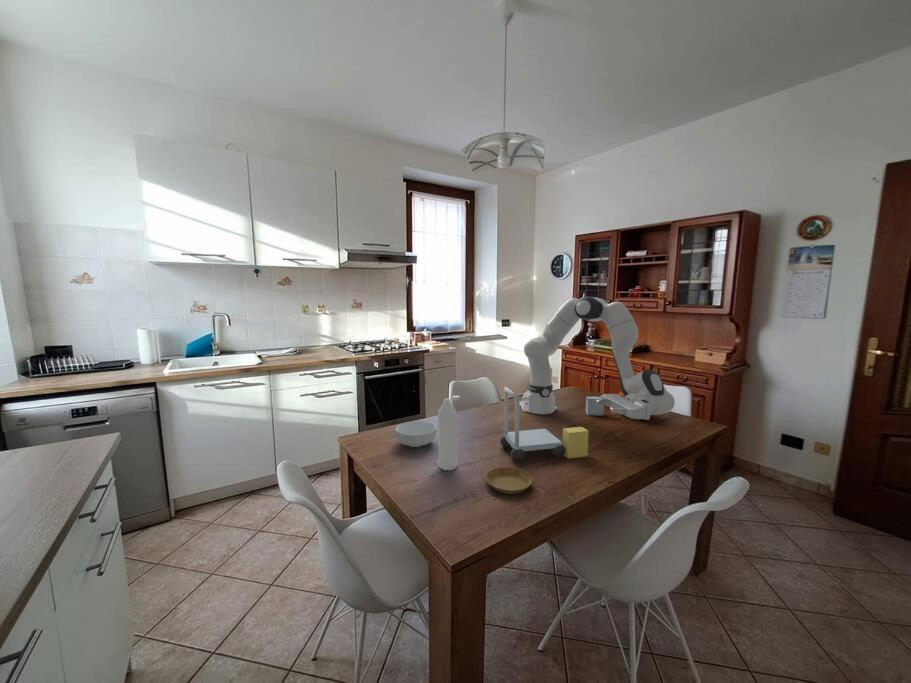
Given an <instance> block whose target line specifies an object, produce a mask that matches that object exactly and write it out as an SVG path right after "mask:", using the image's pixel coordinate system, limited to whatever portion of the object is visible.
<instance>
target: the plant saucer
mask: <svg viewBox="0 0 911 683" xmlns="http://www.w3.org/2000/svg"><path fill="white" fill-rule="evenodd" d="M485 479H486V481H487V483H488V484H489V485H490V486H491V487H492V488H493V489H494V490H495V491H497V492H499V493H502V494H505V495H507V494H509V495H515V494H520V493H522V492H524V491H526V490H527V489H528V488H529V487H530V486H531V485H532V483H533V478H532V476H531V475H530V474H529V473H528V472H527V471H525V470H523V469H520V468H517V467H507V466H503V467H497V468H493V469H491V470H490V471H488V472H487V473H486V475H485Z"/></svg>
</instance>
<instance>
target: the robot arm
mask: <svg viewBox="0 0 911 683" xmlns="http://www.w3.org/2000/svg"><path fill="white" fill-rule="evenodd" d="M579 320H583V321H588V322H599V323H600V322H603V323H604V324H605V327H606V328H607V330H608V333H609V336H610V340H611V352H612V356H613V360H614V364H615V367H616V370H617V373H618V376H619V381H620V382H619V385H620V392H622V393H623V394H624V395H625V396H626V397H625V398H624V397H622V396H620V395H617V394H618V393H617V394H616V393H602V394H601V395H600V397H601V399H600V400H596V404H598V405H602V404H604V406H607V407H609V409H610V410H609V412H610V413H611V414H618V415H620V414H623V415H625V416H627V417H629V418H628V419H630V418H631V420H644V421H645V420H646V421H649V420H650V418H651V416H654V415H656V416H657V415H662V414H663V415H664V414H668V413H670V412H671V411H672V410H673V409H674V408H675V402H676V401H675V397H674V396H673V395H672V394H671V393H670V392H669V391H668V390H667V389H666V387H665V385H664V381H663V378H662V377H661V375H660V374H659V373H658V372H657V371H656V370H653V369H644V370H642V371H640V372H638V373H636V374H635V372H634V369H633V366H632V363H631V360H630V353H631V350H632V348H633V346H634V345H635V343H636V342H637V340H638V339H639V338H638V337H639V328H638V325H637V323H636V322H635V319H634V318H633V316H632V314H631V312H630V311H629V310H628V308H627V306H626V305H625V303H623V302H620V301H613V302H609V301H608V300H606V299H603V298H600V297H597V296H596V297H595V296H594V297H593V296H589V295H588V296H587V295H586V296H583V297H580V298H576V297H570V298H568V299H567V300H566V301H564V302H563V303H562V304H561V305H560V306H559V307H558V309H557V310H556V311H555V312H554V314H553V315H552V316H551V318H549V320H548V321H547V322H546V324H545V328H544V330H543V332H542V333H541V335H540V336H537V337H534V338H531V339H530V340H528V341H527V342H526V343H525V344H524V347H523V353H524V355H525V356H526V358H527V360H528V364H529V383H528V390H526V391H525V392H524V393H523V395H522V396H521V400H520V406H521V407H520V408H521V410H522V412H525V413H530V414H531V413H532V414H537V415H549V414H552V413H555V411H556V410H558V407H557V406H556V399H555V398H556V397H555V393H554V392H553V390H554V389H553V388H554V386H553V369H552V367H551V366H550V360H549V357H551V356H553V355H554V354H555V353H556V352H557V350H558V349H559V347H560V346H561V343H562V342H563V341H564V339H565V337H566V336H567V335H568V334H569V332H570V331H571V330H572V329H573V328H574V327H575V326H576V324H577V323H578V322H579Z"/></svg>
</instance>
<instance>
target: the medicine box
mask: <svg viewBox="0 0 911 683" xmlns="http://www.w3.org/2000/svg"><path fill="white" fill-rule="evenodd" d="M600 399H601V396H586V397H585V414H586V415H587V416H605V415H604V414H605V412H604V411H605V404H602V405H598V404H596V400H600Z"/></svg>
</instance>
